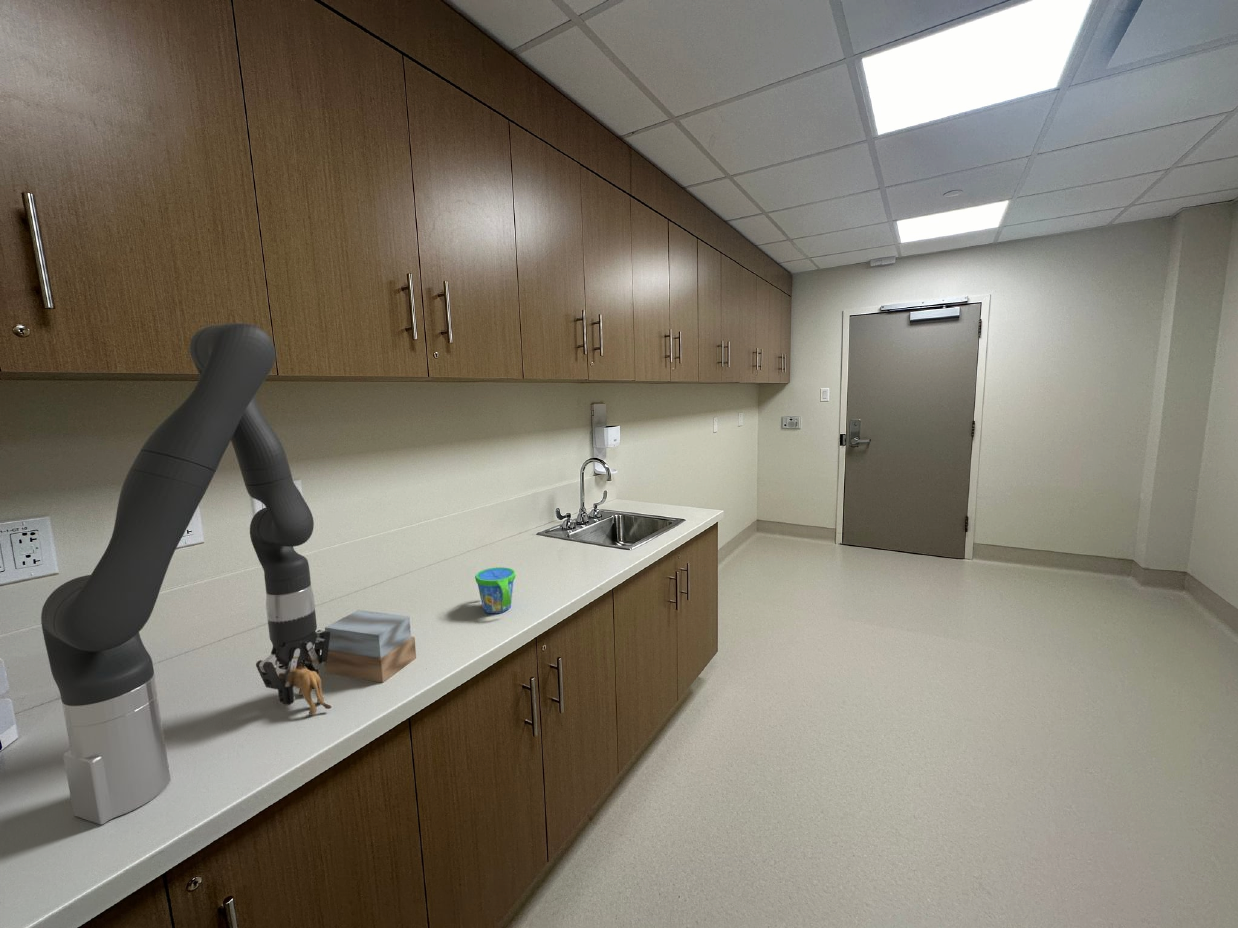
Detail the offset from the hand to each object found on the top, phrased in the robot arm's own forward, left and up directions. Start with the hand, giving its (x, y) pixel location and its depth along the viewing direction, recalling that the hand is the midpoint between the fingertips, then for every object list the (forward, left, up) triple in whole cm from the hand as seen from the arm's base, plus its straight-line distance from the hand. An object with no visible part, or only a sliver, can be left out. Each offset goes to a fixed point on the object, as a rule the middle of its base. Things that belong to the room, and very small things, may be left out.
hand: (300, 694), depth 95 cm
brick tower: (+14, -4, -1) cm, 15 cm away
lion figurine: (-1, -1, -1) cm, 2 cm away
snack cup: (+47, -15, -1) cm, 49 cm away
